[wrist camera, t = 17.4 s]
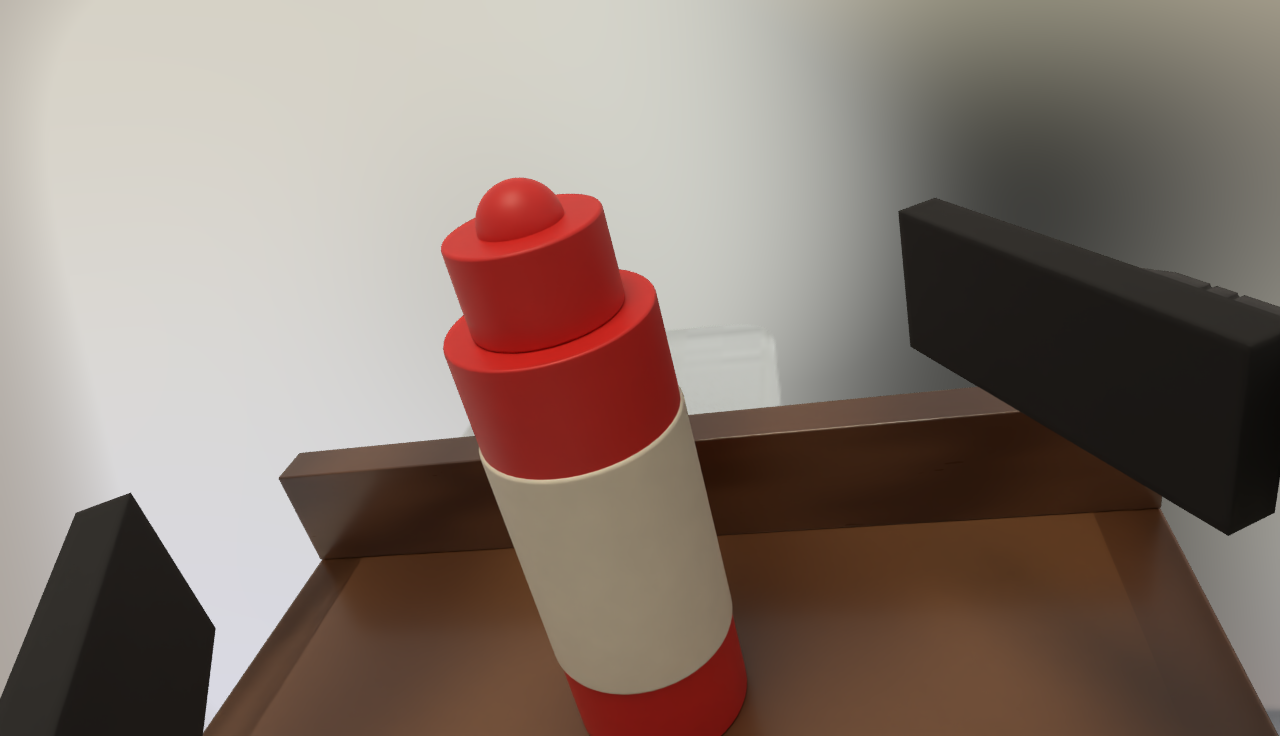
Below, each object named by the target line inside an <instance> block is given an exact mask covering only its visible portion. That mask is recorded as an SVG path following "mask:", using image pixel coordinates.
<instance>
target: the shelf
mask: <svg viewBox="0 0 1280 736" xmlns="http://www.w3.org/2000/svg"><path fill="white" fill-rule="evenodd" d="M688 417H689V421H690V425H691V429H692V434H693V438H694V442H695V446H696V450H697V455H698V459H699V463H700V467H701V472H702V476H703V480H704V484H705V489H706V493H707V497H708V501H709V506H710V510H711V514H712V518H713V523H714V527H715V531H716V535H717V539H718V544H719V548H720V552H721V556H722V561H723V565H724V569H725V573H726V578H727V582H728V586H729V590H730V595H731V600H732V614H733V618H734V622H735V626H736V631H737V635H738V639H739V643H740V647H741V652H742V656H743V660H744V664H745V669H746V675H747V689H746V695H745V699H744V702H743V705H742V707H741V709H740V711H739V713H738V715H737V717H736V718H735V720H734V721H733V723H732V724H731V726H730V727H729V728H728V729H727V730H726V731H725V732H724V733H723V734H722V735H721V736H1279V735H1278V734H1277V732H1276V730H1275V728H1274V726H1273V724H1272V722H1271V720H1270V718H1269V716H1268V714H1267V712H1266V711H1265V709H1264V707H1263V705H1262V703H1261V701H1260V699H1259V697H1258V695H1257V693H1256V691H1255V689H1254V687H1253V686H1252V684H1251V682H1250V680H1249V678H1248V676H1247V674H1246V672H1245V670H1244V668H1243V666H1242V664H1241V663H1240V661H1239V659H1238V657H1237V655H1236V653H1235V651H1234V649H1233V647H1232V645H1231V643H1230V641H1229V640H1228V638H1227V636H1226V634H1225V632H1224V630H1223V628H1222V626H1221V624H1220V622H1219V620H1218V618H1217V616H1216V615H1215V613H1214V611H1213V609H1212V607H1211V605H1210V603H1209V601H1208V599H1207V598H1206V595H1205V594H1204V592H1203V590H1202V588H1201V586H1200V584H1199V582H1198V580H1197V578H1196V576H1195V574H1194V572H1193V570H1192V568H1191V567H1190V565H1189V563H1188V561H1187V559H1186V557H1185V555H1184V553H1183V551H1182V549H1181V547H1180V546H1179V544H1178V542H1177V540H1176V538H1175V536H1174V534H1173V533H1172V530H1171V528H1170V526H1169V524H1168V522H1167V521H1166V519H1165V517H1164V515H1163V513H1162V511H1161V509H1160V507H1161V502H1162V496H1161V495H1159V494H1157V493H1156V492H1154V491H1152V490H1151V489H1149V488H1147V487H1146V486H1144V485H1142V484H1140V483H1139V482H1137V481H1135V480H1134V479H1132V478H1130V477H1129V476H1127V475H1125V474H1124V473H1122V472H1120V471H1119V470H1117V469H1115V468H1114V467H1112V466H1110V465H1109V464H1107V463H1105V462H1104V461H1102V460H1100V459H1099V458H1097V457H1095V456H1093V455H1092V454H1090V453H1088V452H1087V451H1085V450H1083V449H1082V448H1080V447H1078V446H1077V445H1075V444H1073V443H1072V442H1070V441H1068V440H1067V439H1065V438H1063V437H1062V436H1060V435H1058V434H1057V433H1055V432H1053V431H1052V430H1050V429H1048V428H1046V427H1045V426H1043V425H1041V424H1040V423H1038V422H1036V421H1035V420H1033V419H1031V418H1030V417H1028V416H1026V415H1025V414H1023V413H1021V412H1020V411H1018V410H1016V409H1015V408H1013V407H1011V406H1010V405H1008V404H1006V403H1005V402H1003V401H1001V400H999V399H998V398H996V397H994V396H993V395H991V394H989V393H988V392H986V391H984V390H983V389H981V388H979V387H970V388H960V389H951V390H940V391H930V392H919V393H909V394H899V395H889V396H878V397H868V398H858V399H847V400H838V401H827V402H817V403H807V404H797V405H787V406H776V407H766V408H756V409H745V410H735V411H725V412H715V413H704V414H694V415H688ZM279 480H280V482H281V484H282V486H283V488H284V490H285V492H286V493H287V496H288V497H289V499H290V501H291V503H292V505H293V507H294V509H295V511H296V513H297V515H298V517H299V519H300V520H301V523H302V524H303V526H304V528H305V530H306V532H307V534H308V536H309V538H310V540H311V542H312V544H313V546H314V548H315V549H316V551H317V553H318V555H319V557H320V559H322V561H321V562H320V564H319V565H318V567H317V568H316V570H315V571H314V573H313V574H312V575H311V577H310V578H309V580H308V581H307V583H306V584H305V586H304V587H303V588H302V590H301V591H300V593H299V594H298V596H297V598H296V599H295V600H294V602H293V603H292V604H291V606H290V607H289V609H288V611H287V612H286V613H285V615H284V616H283V618H282V619H281V621H280V622H279V623H278V625H277V626H276V628H275V629H274V631H273V632H272V634H271V635H270V637H269V638H268V639H267V641H266V642H265V644H264V645H263V647H262V648H261V650H260V651H259V653H258V654H257V655H256V657H255V658H254V660H253V661H252V663H251V664H250V666H249V667H248V669H247V670H246V672H245V673H244V674H243V676H242V677H241V679H240V680H239V682H238V683H237V685H236V686H235V687H234V689H233V691H232V692H231V693H230V695H229V696H228V698H227V699H226V701H225V702H224V704H223V705H222V707H221V708H220V710H219V711H218V712H217V714H216V715H215V717H214V718H213V720H212V721H211V723H210V724H209V725H208V727H207V728H206V730H205V731H204V733H203V736H590V735H589V733H588V732H587V729H586V727H585V725H584V723H583V720H582V718H581V715H580V712H579V710H578V707H577V705H576V702H575V699H574V697H573V694H572V691H571V689H570V686H569V683H568V681H567V678H566V675H565V673H564V670H563V668H562V667H561V666H560V664H559V662H558V660H557V658H556V656H555V654H554V651H553V648H552V646H551V643H550V640H549V638H548V635H547V633H546V630H545V627H544V625H543V622H542V619H541V617H540V614H539V611H538V609H537V606H536V604H535V601H534V598H533V596H532V593H531V590H530V588H529V585H528V583H527V580H526V577H525V575H524V572H523V569H522V567H521V564H520V561H519V559H518V556H517V554H516V551H515V548H514V546H513V543H512V540H511V538H510V535H509V533H508V530H507V527H506V525H505V522H504V519H503V517H502V514H501V511H500V509H499V506H498V504H497V501H496V498H495V496H494V493H493V490H492V488H491V485H490V482H489V480H488V477H487V475H486V472H485V469H484V467H483V464H482V461H481V459H480V455H479V445H478V442H477V440H476V437H475V436H469V437H459V438H449V439H439V440H430V441H418V442H409V443H398V444H389V445H378V446H367V447H358V448H347V449H337V450H326V451H316V452H306V453H300V454H298V456H297V457H296V458H295V459H294V460H293V462H292V463H291V464H290V465H289V466H288V468H287V469H286V470H285V471H284V472H283V473H282V475H281V476H280V477H279Z"/></svg>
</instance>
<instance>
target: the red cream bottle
mask: <svg viewBox="0 0 1280 736" xmlns="http://www.w3.org/2000/svg"><path fill="white" fill-rule="evenodd" d="M441 252H442V255H443V258H444V261H445V264H446V267H447V269H448V272H449V275H450V278H451V280H452V284H453V286H454V289H455V292H456V295H457V297H458V300H459V303H460V306H461V309H462V311H463V314H464V315H463V316H462V317H461V318H460V319H459V320H458V321H457V322H456V323H455V324H454V325H453V326H452V327H451V329H450V330H449V332H448V334H447V335H446V337H445V340H444V347H443V350H444V355H445V358H446V360H447V363H448V366H449V368H450V371H451V374H452V376H453V379H454V381H455V384H456V387H457V389H458V392H459V395H460V397H461V400H462V403H463V405H464V408H465V411H466V413H467V416H468V419H469V421H470V424H471V427H472V429H473V432H474V434H475V437H476V440H477V442H478V445H479V455H480V459H481V461H482V464H483V467H484V469H485V472H486V475H487V477H488V480H489V482H490V485H491V488H492V490H493V493H494V496H495V498H496V501H497V504H498V506H499V509H500V511H501V514H502V517H503V519H504V522H505V525H506V527H507V530H508V533H509V535H510V538H511V540H512V543H513V546H514V548H515V551H516V554H517V556H518V559H519V561H520V564H521V567H522V569H523V572H524V575H525V577H526V580H527V583H528V585H529V588H530V590H531V593H532V596H533V598H534V601H535V604H536V606H537V609H538V611H539V614H540V617H541V619H542V622H543V625H544V627H545V630H546V633H547V635H548V638H549V640H550V643H551V646H552V648H553V651H554V654H555V656H556V658H557V660H558V662H559V664H560V666H561V667H562V668H563V670H564V673H565V675H566V678H567V681H568V683H569V686H570V689H571V691H572V694H573V697H574V699H575V702H576V705H577V707H578V710H579V712H580V715H581V718H582V720H583V723H584V725H585V727H586V729H587V732H588V733H589V735H590V736H721V735H722V734H723V733H724V732H725V731H726V730H727V729H728V728H729V727H730V726H731V724H732V723H733V721H734V720H735V718H736V717H737V715H738V713H739V711H740V709H741V707H742V705H743V702H744V699H745V695H746V689H747V675H746V669H745V664H744V660H743V656H742V652H741V647H740V643H739V639H738V635H737V631H736V626H735V622H734V618H733V614H732V600H731V595H730V590H729V586H728V582H727V578H726V573H725V569H724V565H723V561H722V556H721V552H720V548H719V544H718V539H717V535H716V531H715V527H714V523H713V518H712V514H711V510H710V506H709V501H708V497H707V493H706V489H705V484H704V480H703V476H702V472H701V467H700V463H699V459H698V455H697V450H696V446H695V442H694V438H693V434H692V429H691V425H690V421H689V417H688V412H687V408H686V404H685V400H684V395H683V393H682V390H681V388H680V387H679V386H678V382H677V378H676V374H675V370H674V366H673V361H672V357H671V353H670V349H669V345H668V340H667V336H666V332H665V328H664V324H663V319H662V316H661V311H660V307H659V303H658V298H657V294H656V290H655V289H654V286H653V285H652V284H651V283H650V281H649V280H648V279H646V278H645V277H643V276H641V275H639V274H637V273H634V272H630V271H626V270H620V269H619V268H618V265H617V261H616V257H615V253H614V249H613V245H612V241H611V237H610V233H609V229H608V226H607V222H606V218H605V214H604V210H603V206H602V204H601V203H600V201H598V199H596V198H594V197H592V196H588V195H582V194H557V195H555V194H554V193H553V192H552V191H551V190H550V189H549V188H548V187H547V186H545V185H543V184H542V183H540V182H537V181H535V180H532V179H527V178H511V179H507V180H504V181H502V182H500V183H498V184H496V185H494V186H493V187H492V188H491V189H489V190H488V191H487V193H486V194H485V195H484V196H483V198H482V199H481V201H480V203H479V206H478V208H477V212H476V218H474V219H472V220H470V221H468V222H466V223H465V224H463V225H461V226H460V227H458V228H457V229H455V230H454V231H453V232H451V233H450V234H449V235H448V236H447V237H446V239H445V240H444V241H443V243H442V246H441Z"/></svg>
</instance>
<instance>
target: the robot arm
mask: <svg viewBox="0 0 1280 736" xmlns="http://www.w3.org/2000/svg"><path fill="white" fill-rule="evenodd" d="M899 223H900V234H901V245H902V256H903V268H904V279H905V289H906V301H907V312H908V324H909V335H910V345H911V347H912V348H914V349H916V350H917V351H919V352H921V353H922V354H924V355H926V356H927V357H929V358H931V359H932V360H934V361H936V362H938V363H939V364H941V365H942V366H944V367H946V368H947V369H949V370H951V371H953V372H954V373H956V374H958V375H959V376H961V377H963V378H964V379H966V380H968V381H969V382H971V383H973V384H975V385H976V386H978V387H979V388H981V389H983V390H984V391H986V392H988V393H989V394H991V395H993V396H994V397H996V398H998V399H999V400H1001V401H1003V402H1005V403H1006V404H1008V405H1010V406H1011V407H1013V408H1015V409H1016V410H1018V411H1020V412H1021V413H1023V414H1025V415H1026V416H1028V417H1030V418H1031V419H1033V420H1035V421H1036V422H1038V423H1040V424H1041V425H1043V426H1045V427H1046V428H1048V429H1050V430H1052V431H1053V432H1055V433H1057V434H1058V435H1060V436H1062V437H1063V438H1065V439H1067V440H1068V441H1070V442H1072V443H1073V444H1075V445H1077V446H1078V447H1080V448H1082V449H1083V450H1085V451H1087V452H1088V453H1090V454H1092V455H1093V456H1095V457H1097V458H1099V459H1100V460H1102V461H1104V462H1105V463H1107V464H1109V465H1110V466H1112V467H1114V468H1115V469H1117V470H1119V471H1120V472H1122V473H1124V474H1125V475H1127V476H1129V477H1130V478H1132V479H1134V480H1135V481H1137V482H1139V483H1140V484H1142V485H1144V486H1146V487H1147V488H1149V489H1151V490H1152V491H1154V492H1156V493H1157V494H1159V495H1161V496H1162V497H1164V498H1166V499H1167V500H1169V501H1171V502H1172V503H1174V504H1176V505H1177V506H1179V507H1181V508H1182V509H1184V510H1186V511H1187V512H1189V513H1191V514H1193V515H1194V516H1196V517H1198V518H1199V519H1201V520H1203V521H1204V522H1206V523H1208V524H1209V525H1211V526H1213V527H1214V528H1216V529H1218V530H1219V531H1221V532H1223V533H1224V534H1226V535H1228V536H1229V535H1231V534H1233V533H1235V532H1237V531H1239V530H1241V529H1243V528H1245V527H1247V526H1249V525H1251V524H1253V523H1255V522H1257V521H1259V520H1261V519H1263V518H1265V517H1267V516H1269V515H1271V514H1273V513H1275V507H1276V500H1277V493H1278V487H1279V480H1280V307H1278V306H1275V305H1272V304H1269V303H1266V302H1263V301H1260V300H1257V299H1254V298H1251V297H1248V296H1245V295H1244V296H1242V297H1239V296H1238V293H1236V292H1233V291H1230V290H1227V289H1224V288H1221V287H1218V286H1216V287H1213V288H1212V287H1211V286H1210V284H1209V283H1206V282H1203V281H1200V280H1197V279H1194V278H1191V277H1188V276H1185V275H1182V274H1179V273H1176V272H1175V273H1174V272H1168V271H1160V270H1153V269H1145V268H1139V267H1136V266H1133V265H1130V264H1127V263H1124V262H1121V261H1119V260H1116V259H1113V258H1110V257H1107V256H1104V255H1101V254H1098V253H1095V252H1092V251H1089V250H1086V249H1083V248H1081V247H1078V246H1075V245H1072V244H1069V243H1066V242H1063V241H1060V240H1057V239H1054V238H1051V237H1048V236H1045V235H1042V234H1040V233H1037V232H1034V231H1031V230H1028V229H1025V228H1022V227H1019V226H1016V225H1013V224H1010V223H1007V222H1004V221H1001V220H998V219H996V218H993V217H990V216H987V215H984V214H981V213H978V212H975V211H972V210H969V209H966V208H963V207H960V206H957V205H954V204H951V203H949V202H946V201H943V200H940V199H937V198H933V199H931V200H928V201H925V202H922V203H919V204H917V205H914V206H911V207H909V208H906V209H903V210H900V211H899ZM214 637H215V627H214V625H213V623H212V622H211V620H210V619H209V617H208V616H207V614H206V612H205V611H204V609H203V607H202V606H201V604H200V603H199V601H198V599H197V598H196V596H195V595H194V593H193V591H192V590H191V588H190V587H189V585H188V583H187V582H186V580H185V579H184V577H183V576H182V574H181V572H180V571H179V569H178V568H177V566H176V564H175V563H174V561H173V559H172V558H171V556H170V555H169V553H168V552H167V550H166V548H165V547H164V545H163V544H162V542H161V540H160V539H159V537H158V535H157V534H156V532H155V531H154V529H153V527H152V526H151V524H150V523H149V521H148V520H147V518H146V516H145V515H144V513H143V511H142V510H141V508H140V507H139V505H138V503H137V502H136V500H135V499H134V497H133V496H132V494H131V493H129V494H126V495H123V496H120V497H118V498H115V499H112V500H110V501H107V502H104V503H101V504H99V505H96V506H93V507H91V508H88V509H85V510H82V511H80V512H77V513H76V514H75V516H74V519H73V521H72V524H71V526H70V529H69V531H68V534H67V536H66V538H65V541H64V543H63V546H62V548H61V551H60V553H59V556H58V558H57V560H56V563H55V565H54V568H53V570H52V573H51V575H50V578H49V580H48V583H47V585H46V588H45V590H44V592H43V595H42V597H41V600H40V602H39V605H38V607H37V610H36V612H35V615H34V617H33V620H32V622H31V624H30V627H29V629H28V632H27V635H26V637H25V639H24V642H23V644H22V647H21V649H20V652H19V654H18V657H17V659H16V661H15V664H14V666H13V669H12V671H11V674H10V676H9V679H8V681H7V684H6V686H5V689H4V691H3V694H2V696H1V698H0V736H203V728H204V720H205V712H206V703H207V695H208V687H209V678H210V670H211V662H212V653H213V645H214Z"/></svg>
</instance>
